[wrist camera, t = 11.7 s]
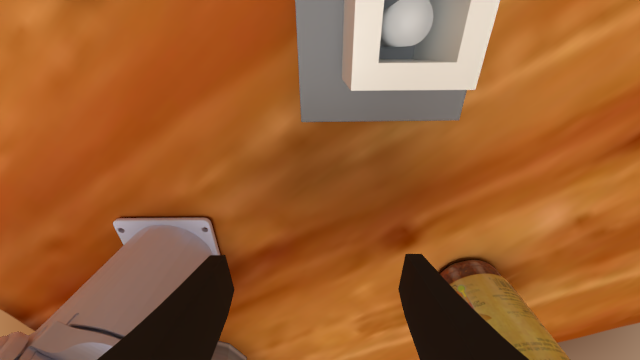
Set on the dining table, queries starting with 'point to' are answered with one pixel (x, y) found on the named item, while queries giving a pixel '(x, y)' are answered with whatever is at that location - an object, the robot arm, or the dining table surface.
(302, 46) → the base plate
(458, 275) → the sauce bottle
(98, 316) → the robot arm
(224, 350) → the can
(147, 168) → the dining table surface
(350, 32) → the box
